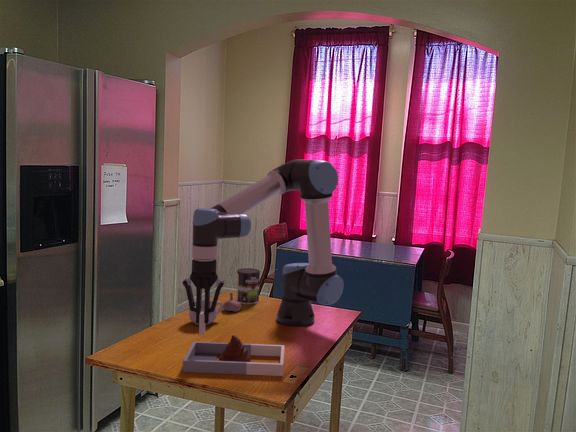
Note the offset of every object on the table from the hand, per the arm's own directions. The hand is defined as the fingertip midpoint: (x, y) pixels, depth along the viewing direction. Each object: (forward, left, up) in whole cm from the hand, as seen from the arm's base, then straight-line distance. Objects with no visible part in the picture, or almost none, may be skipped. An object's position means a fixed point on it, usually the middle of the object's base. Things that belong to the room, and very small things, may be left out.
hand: (202, 333), depth 160 cm
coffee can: (-31, -63, -10) cm, 71 cm away
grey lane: (-5, +2, -9) cm, 11 cm away
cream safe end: (-19, +7, -9) cm, 22 cm away
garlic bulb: (-21, -51, -10) cm, 56 cm away
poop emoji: (-10, +3, -10) cm, 14 cm away
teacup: (-8, -38, -10) cm, 40 cm away
